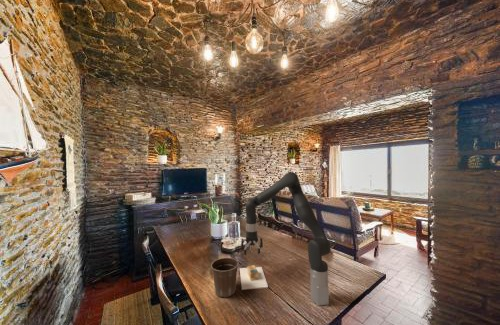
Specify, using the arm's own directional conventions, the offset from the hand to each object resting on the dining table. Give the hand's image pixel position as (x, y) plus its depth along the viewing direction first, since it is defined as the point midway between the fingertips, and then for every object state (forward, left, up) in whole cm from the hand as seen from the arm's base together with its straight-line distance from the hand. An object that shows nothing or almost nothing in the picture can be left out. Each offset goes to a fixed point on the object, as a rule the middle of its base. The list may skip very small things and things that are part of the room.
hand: (252, 254), depth 130 cm
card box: (+1, 0, -15) cm, 15 cm away
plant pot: (-11, +18, -16) cm, 26 cm away
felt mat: (+1, 0, -16) cm, 16 cm away
